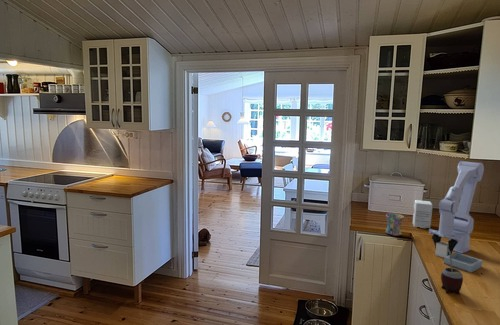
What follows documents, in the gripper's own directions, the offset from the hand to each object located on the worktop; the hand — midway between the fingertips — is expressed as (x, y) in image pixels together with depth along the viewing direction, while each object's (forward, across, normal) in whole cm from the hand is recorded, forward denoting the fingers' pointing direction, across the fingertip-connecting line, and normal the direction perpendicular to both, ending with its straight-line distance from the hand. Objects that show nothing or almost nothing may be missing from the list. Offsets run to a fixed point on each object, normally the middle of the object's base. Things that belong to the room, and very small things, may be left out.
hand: (443, 252), depth 162 cm
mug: (+2, -30, +7) cm, 31 cm away
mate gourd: (+2, +18, -33) cm, 37 cm away
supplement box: (+2, -30, +37) cm, 48 cm away
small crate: (+2, 0, 0) cm, 2 cm away
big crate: (+2, +10, -4) cm, 11 cm away
